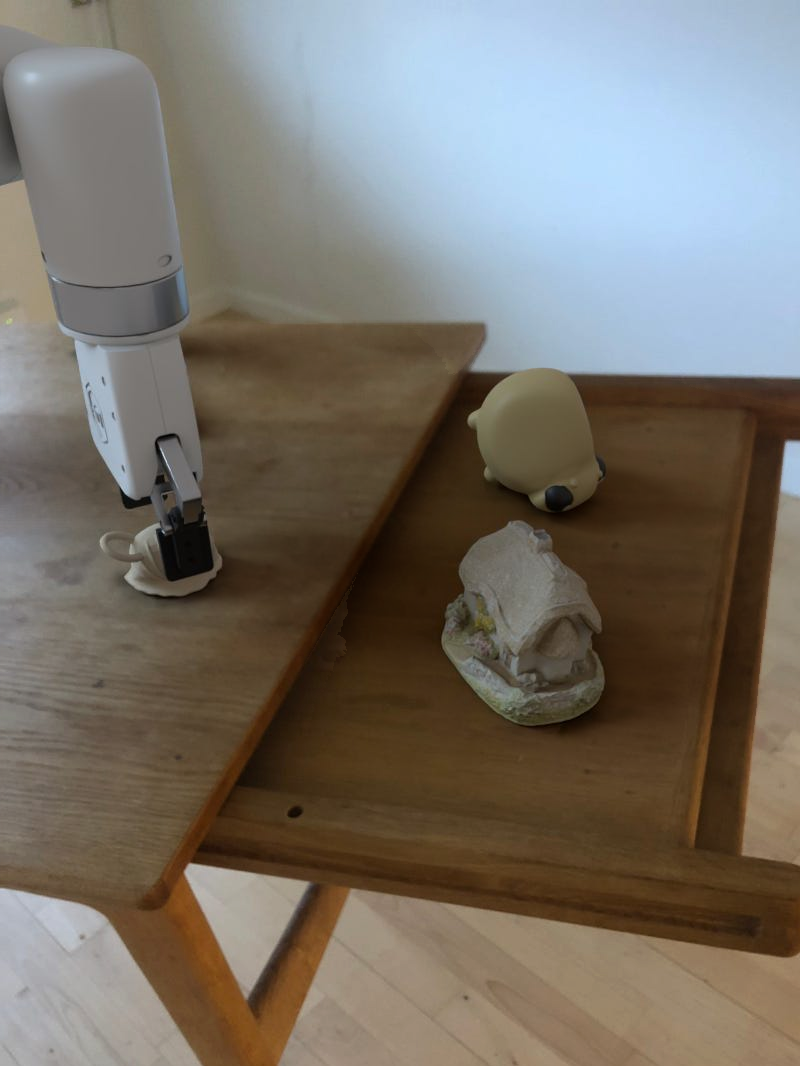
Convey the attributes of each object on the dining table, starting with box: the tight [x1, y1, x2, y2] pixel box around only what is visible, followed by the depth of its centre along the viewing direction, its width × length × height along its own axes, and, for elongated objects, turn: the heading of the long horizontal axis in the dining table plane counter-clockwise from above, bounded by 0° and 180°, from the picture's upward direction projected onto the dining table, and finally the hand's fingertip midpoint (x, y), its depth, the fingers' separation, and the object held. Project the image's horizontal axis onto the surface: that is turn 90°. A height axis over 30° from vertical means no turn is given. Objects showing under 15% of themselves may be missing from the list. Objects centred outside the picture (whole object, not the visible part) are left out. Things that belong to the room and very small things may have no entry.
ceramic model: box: [441, 519, 606, 727], centre depth 63 cm, size 14×11×10 cm
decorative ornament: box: [99, 522, 223, 597], centre depth 68 cm, size 4×8×5 cm, turn 121°
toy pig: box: [467, 367, 607, 513], centre depth 80 cm, size 10×12×11 cm
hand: (167, 537), depth 67 cm, fingers open, 9 cm apart
